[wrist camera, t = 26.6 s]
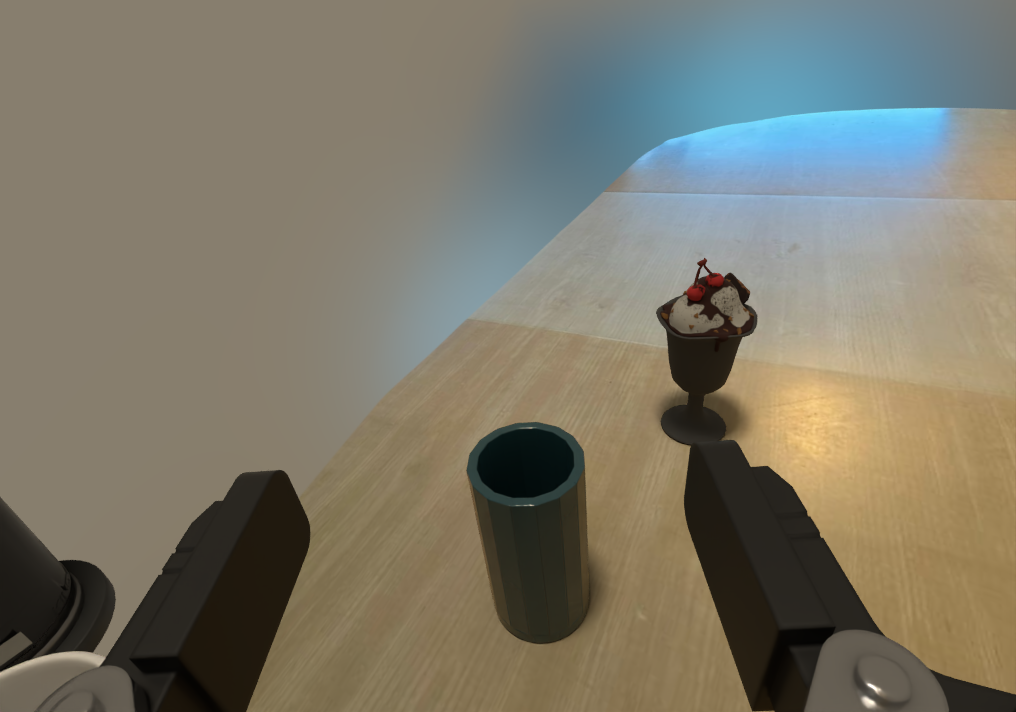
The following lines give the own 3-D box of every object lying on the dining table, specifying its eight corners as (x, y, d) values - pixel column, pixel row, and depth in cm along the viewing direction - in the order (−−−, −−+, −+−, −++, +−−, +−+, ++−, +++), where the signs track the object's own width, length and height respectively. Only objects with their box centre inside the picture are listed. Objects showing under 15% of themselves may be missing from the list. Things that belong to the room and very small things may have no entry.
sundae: (658, 456, 39) (672, 273, 31) (644, 401, 45) (652, 234, 37) (749, 453, 38) (787, 264, 30) (723, 398, 44) (748, 226, 36)
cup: (569, 660, 27) (558, 521, 22) (477, 620, 30) (445, 485, 24) (601, 572, 32) (600, 435, 26) (518, 544, 34) (499, 412, 28)
